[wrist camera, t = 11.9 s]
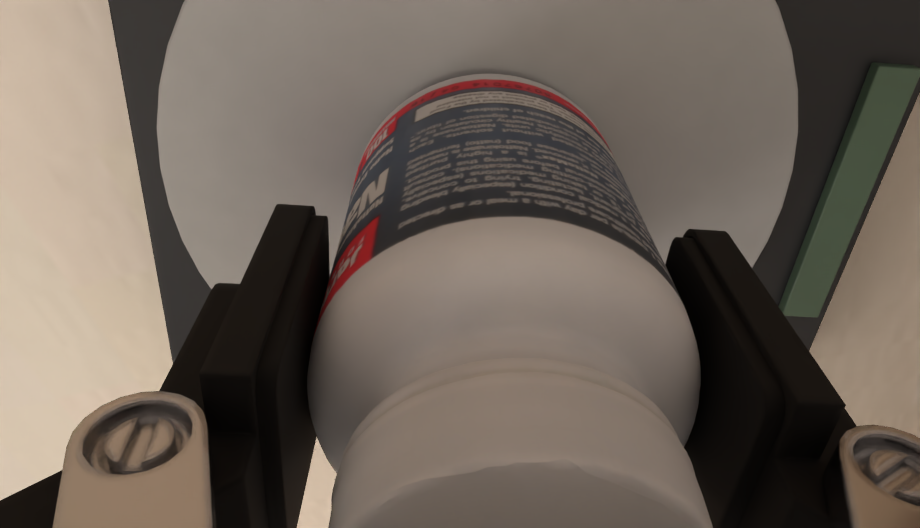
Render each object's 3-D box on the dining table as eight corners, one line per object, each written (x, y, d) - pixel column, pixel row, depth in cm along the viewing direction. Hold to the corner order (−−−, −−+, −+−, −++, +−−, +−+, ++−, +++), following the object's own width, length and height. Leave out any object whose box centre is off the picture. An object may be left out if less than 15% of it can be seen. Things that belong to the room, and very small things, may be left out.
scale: (944, -171, 14) (1059, -169, 11) (743, 370, 21) (785, 447, 19) (122, -246, 13) (41, -264, 11) (206, 344, 21) (171, 420, 18)
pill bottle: (352, 60, 13) (217, 385, 5) (632, 73, 13) (879, 405, 6) (359, 298, 16) (277, 730, 8) (591, 305, 16) (718, 734, 8)
